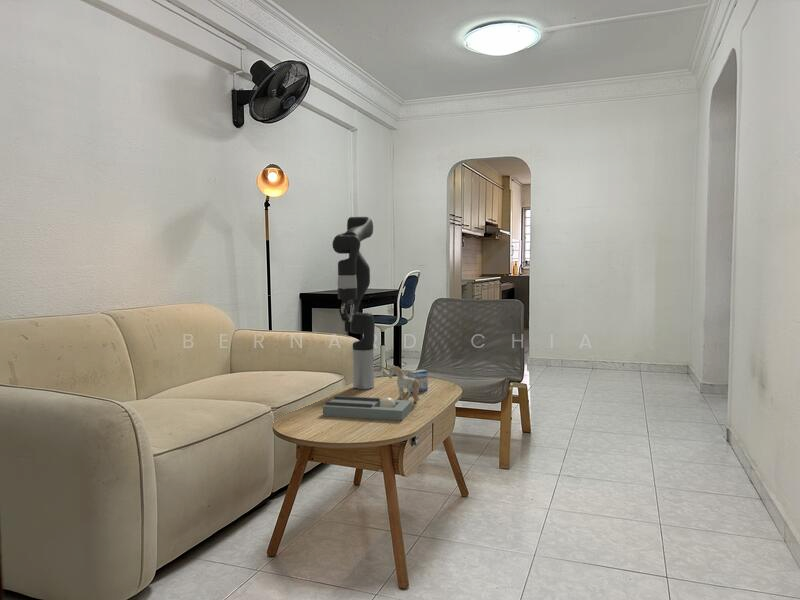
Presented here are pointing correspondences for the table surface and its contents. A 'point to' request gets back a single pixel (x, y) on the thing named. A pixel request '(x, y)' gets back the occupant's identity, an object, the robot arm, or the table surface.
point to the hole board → (365, 408)
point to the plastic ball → (387, 403)
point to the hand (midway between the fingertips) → (348, 331)
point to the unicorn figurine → (404, 383)
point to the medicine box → (420, 378)
